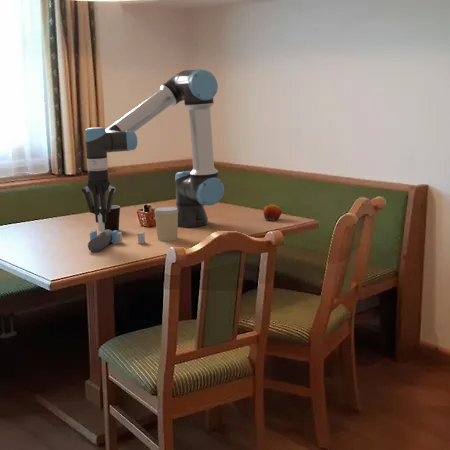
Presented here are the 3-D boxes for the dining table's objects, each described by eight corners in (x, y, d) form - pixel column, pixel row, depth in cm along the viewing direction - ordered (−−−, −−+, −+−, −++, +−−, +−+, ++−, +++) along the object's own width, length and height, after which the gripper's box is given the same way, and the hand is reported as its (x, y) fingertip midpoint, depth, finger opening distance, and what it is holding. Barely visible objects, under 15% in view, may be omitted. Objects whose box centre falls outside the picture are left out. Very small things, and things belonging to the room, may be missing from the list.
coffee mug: (117, 233, 274) (115, 209, 272) (97, 232, 276) (95, 208, 273) (126, 227, 285) (125, 204, 283) (107, 226, 287) (106, 203, 285)
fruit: (259, 218, 289) (262, 201, 291) (264, 224, 296) (267, 208, 298) (277, 220, 286) (280, 202, 288) (282, 226, 293) (284, 209, 295)
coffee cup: (182, 236, 266) (181, 206, 263) (175, 241, 257) (174, 211, 254) (159, 235, 268) (158, 206, 265) (152, 241, 259) (151, 210, 256)
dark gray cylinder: (114, 242, 260) (114, 229, 259) (101, 253, 243) (101, 240, 242) (102, 241, 260) (102, 228, 259) (87, 252, 244) (87, 239, 243)
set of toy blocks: (144, 242, 257) (144, 230, 256) (142, 244, 254) (142, 232, 253) (92, 241, 260) (91, 230, 259) (89, 243, 257) (89, 231, 256)
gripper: (77, 170, 246) (82, 233, 251) (111, 170, 244) (115, 233, 249) (84, 168, 253) (88, 228, 258) (117, 167, 251) (121, 228, 256)
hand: (101, 230), depth 253 cm, fingers closed
